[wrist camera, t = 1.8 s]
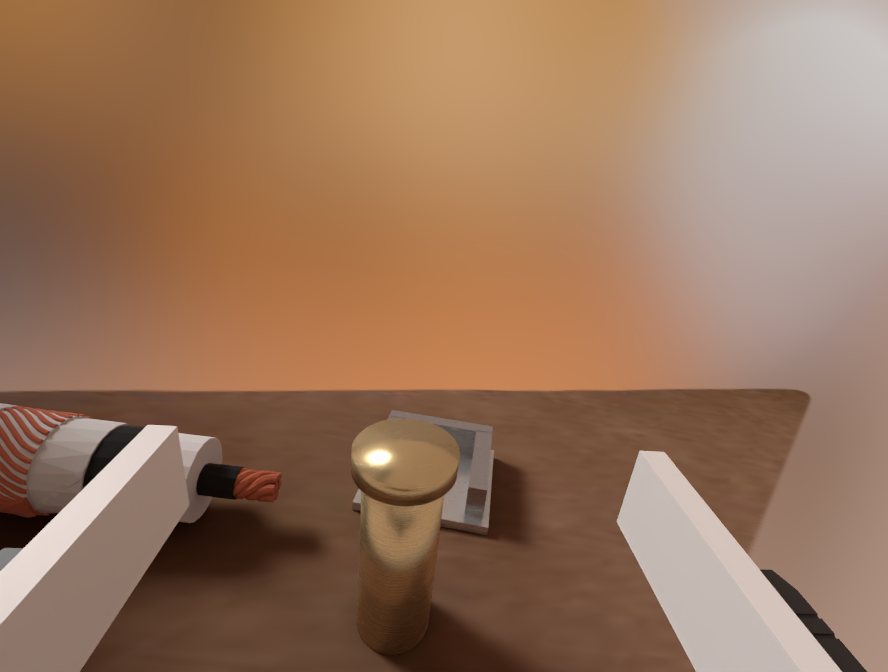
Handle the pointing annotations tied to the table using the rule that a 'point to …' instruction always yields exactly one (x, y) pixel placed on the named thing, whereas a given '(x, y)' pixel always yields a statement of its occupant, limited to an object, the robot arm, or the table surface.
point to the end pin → (399, 527)
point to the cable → (103, 463)
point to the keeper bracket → (462, 475)
